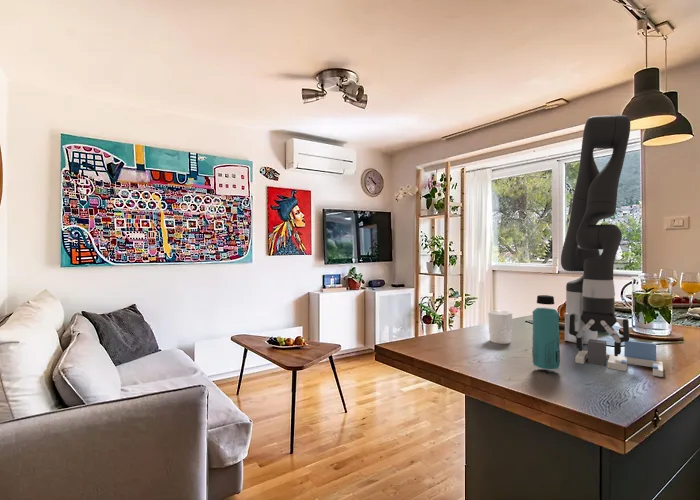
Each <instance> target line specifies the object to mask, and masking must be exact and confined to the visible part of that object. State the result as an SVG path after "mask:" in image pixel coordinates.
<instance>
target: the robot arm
mask: <svg viewBox="0 0 700 500" xmlns="http://www.w3.org/2000/svg"><path fill="white" fill-rule="evenodd" d="M630 134H631V119H630V117H629V116H627V115H624V114H623V115H617V114H616V115H594V116H590V117H588V118H587V120H586V122H585V124H584V129H583V134H582V140H581V141H582V142H581V150H580V160H579V167H578V174H577V177H576V182H575V187H574V192H573V196H572V197H573V198H572V203H571V209H570V216H569V223H568V227H567V231H566V235H565V239H564V242H563V246H562V250H561V255H560V265H561V267H562V269H563V270H564V271H565V272H578V273H579V272H583V273H582V276H580V277H579V278H577V279H574V280H570V281H568V282H566V285H565V313H564V341H566V342H570V343H574V344H576V349H577V350H578V352H579V351H582V350H584V345H588V341H589V339H594V340H599V338H598V337H599V334H598V332H600V333H604V334H605V333H608V334H609V336H610V337H611V338H612V339H613V341H614V350H613V351H614V353H613V355H614V356H621V354H622V343H625V342H628V341H630V322H629V321H630V320H629V318H627V317H625V318H617V317H616V315H615V302H616V301H615V298H616V297H615V296H616V291H615V284H614V265H615V260H616V256H617V253H618V250H619V248H620V245H621V241H622V236H623V235H622V231H621V229H620V228H619V226H617V225H616V224H612V223H606V224H605V223H604V224H598V223H599V222H600V221H601V220H604V219H607V218H611V217H613V216H615V214H616V211H617V201H618V199H617V198H618V191H619V183H620V178H621V174H622V170H623V165H624V162H625V158H626V154H627V148H628V143H629V139H630ZM595 149H607V150H608V149H611V150H612V153H611V156H610V158H609V160H608V162H607V163H606V164H605V166H603V168H602V169H601V170H600V171H599V169H598V166H597V163H596V162H595V157H594V150H595ZM600 250H602V252H601V253H600ZM617 323H618V324H619V326H620V327H621V328H622V330H623V331H622V336H620V335H619V334H618V332H617V331H616V330H615V329H614V325H616V324H617Z"/></svg>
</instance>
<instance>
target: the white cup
mask: <svg viewBox="0 0 700 500" xmlns="http://www.w3.org/2000/svg"><path fill="white" fill-rule="evenodd" d="M487 320H488V321H487V322H488V334H489V341H490V342H491V343H494V344H499V345H500V344H501V345H502V344H503V345H507V344H510V343H512V340H511V339H512V332H513V331H512V329H513V312H512V311H511V312H510V311H505V310H488V312H487Z"/></svg>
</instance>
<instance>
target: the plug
mask: <svg viewBox="0 0 700 500" xmlns="http://www.w3.org/2000/svg"><path fill="white" fill-rule="evenodd" d="M587 351H588V357H587V363H588V364H593V365H598V366H606V363H607V360H606V354H607V340H602V339H598V340H594V339H589V341H588V344H587Z"/></svg>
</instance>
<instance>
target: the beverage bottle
mask: <svg viewBox="0 0 700 500" xmlns="http://www.w3.org/2000/svg"><path fill="white" fill-rule="evenodd" d="M536 304H538V305H548V306H549V305H551V306H552V305H555V297H554V296H553V295H547V294H540V295H537V297H536ZM531 314H532V337H531V338H532V341H531V342H532V347H531V348H532V352H531V353H532V354H531V355H532V364H533V365H534V366H535V367H538V368H540V369H545V370H557V369H559V368H560V365H561V360H560V358H561V355H560V353H561V348H560V347H561V342H560V313H559V312H558V310H556V309H555V308H553V307H546V306H544V307H543V306H542V307H540V306H539V307H536V308H535V309H534V310H533V311H532V313H531Z"/></svg>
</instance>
